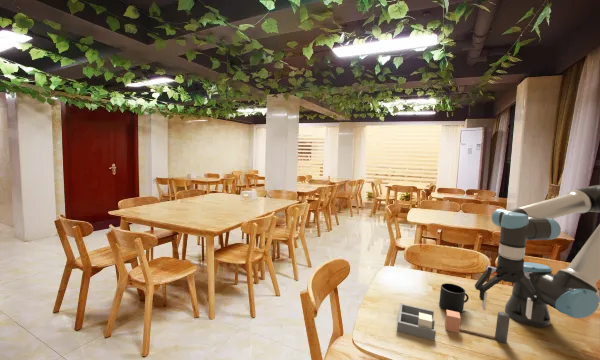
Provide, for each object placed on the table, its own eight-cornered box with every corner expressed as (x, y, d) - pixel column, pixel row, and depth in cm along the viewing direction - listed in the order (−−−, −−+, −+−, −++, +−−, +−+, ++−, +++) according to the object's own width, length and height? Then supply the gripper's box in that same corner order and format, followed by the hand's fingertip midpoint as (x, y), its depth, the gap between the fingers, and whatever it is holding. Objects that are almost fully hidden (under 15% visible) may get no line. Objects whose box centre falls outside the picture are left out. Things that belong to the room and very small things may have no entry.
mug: (473, 314, 123) (476, 294, 122) (445, 313, 123) (447, 293, 122) (461, 302, 133) (463, 283, 132) (435, 301, 132) (437, 282, 131)
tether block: (504, 337, 108) (508, 312, 107) (508, 345, 104) (511, 319, 103) (444, 323, 115) (447, 299, 114) (445, 330, 111) (448, 305, 110)
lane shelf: (432, 318, 119) (433, 310, 118) (434, 340, 105) (435, 331, 104) (399, 310, 123) (400, 303, 123) (396, 330, 110) (397, 321, 109)
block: (430, 330, 111) (431, 315, 110) (430, 336, 107) (432, 321, 106) (417, 326, 113) (419, 312, 112) (417, 333, 108) (419, 318, 108)
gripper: (550, 258, 102) (543, 315, 104) (469, 247, 111) (464, 300, 114) (560, 266, 95) (552, 326, 97) (472, 254, 104) (467, 310, 107)
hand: (505, 312), depth 106 cm, fingers open, 13 cm apart
